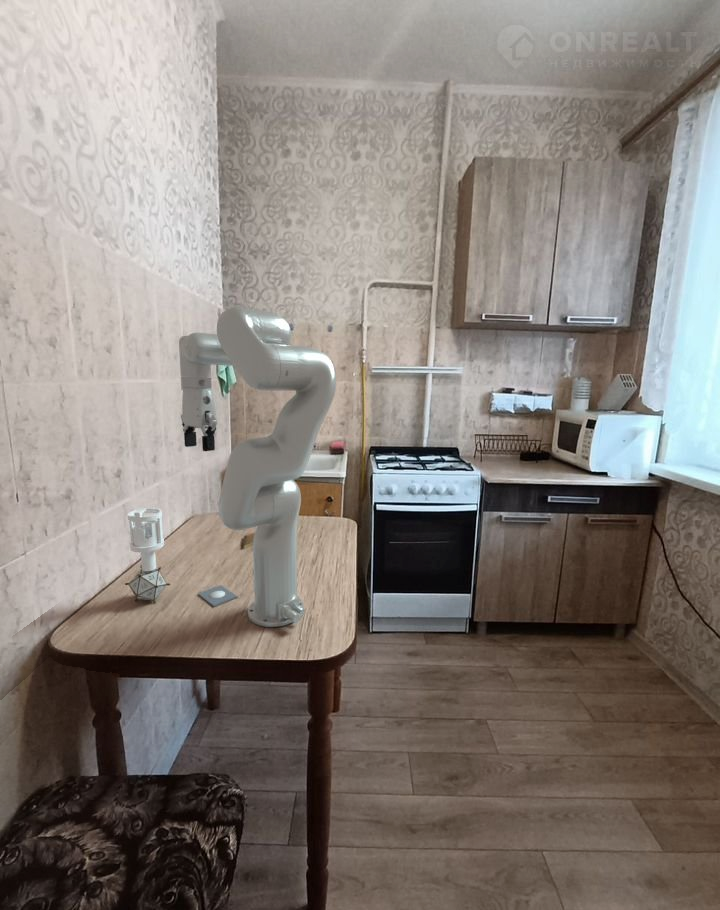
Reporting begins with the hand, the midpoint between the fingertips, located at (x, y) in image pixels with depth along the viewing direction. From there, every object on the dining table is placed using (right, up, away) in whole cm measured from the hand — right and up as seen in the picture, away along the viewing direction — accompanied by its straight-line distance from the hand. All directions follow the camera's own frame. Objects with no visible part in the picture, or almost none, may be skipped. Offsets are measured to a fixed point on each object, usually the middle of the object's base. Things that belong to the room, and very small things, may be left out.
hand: (199, 448), depth 112 cm
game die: (-7, -37, -13) cm, 40 cm away
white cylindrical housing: (-6, -29, -14) cm, 33 cm away
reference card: (+9, -36, -11) cm, 39 cm away
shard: (+9, -31, +24) cm, 41 cm away
